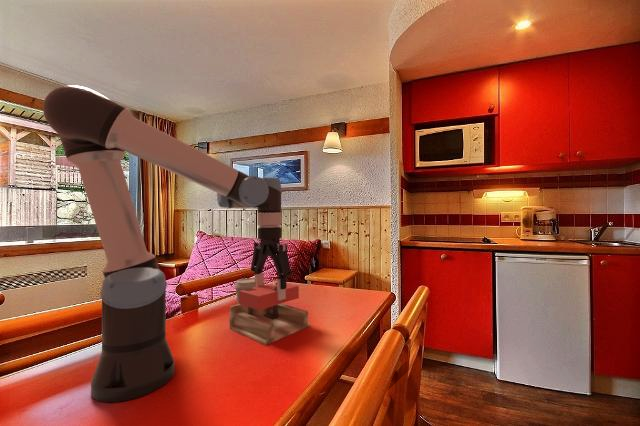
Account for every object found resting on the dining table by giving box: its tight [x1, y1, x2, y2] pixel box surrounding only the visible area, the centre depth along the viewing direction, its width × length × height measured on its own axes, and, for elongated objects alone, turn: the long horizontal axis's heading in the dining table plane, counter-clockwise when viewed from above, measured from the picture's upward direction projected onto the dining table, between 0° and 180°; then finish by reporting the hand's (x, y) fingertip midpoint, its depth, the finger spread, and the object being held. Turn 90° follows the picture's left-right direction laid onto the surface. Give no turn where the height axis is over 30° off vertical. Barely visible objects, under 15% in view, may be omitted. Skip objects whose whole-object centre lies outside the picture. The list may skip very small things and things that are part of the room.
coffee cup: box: [234, 277, 256, 304], centre depth 105 cm, size 8×8×12 cm
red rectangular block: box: [239, 281, 300, 310], centre depth 92 cm, size 16×10×5 cm, turn 139°
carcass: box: [229, 303, 311, 346], centre depth 92 cm, size 18×18×11 cm
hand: (270, 296), depth 92 cm, fingers closed on red rectangular block, 10 cm apart
